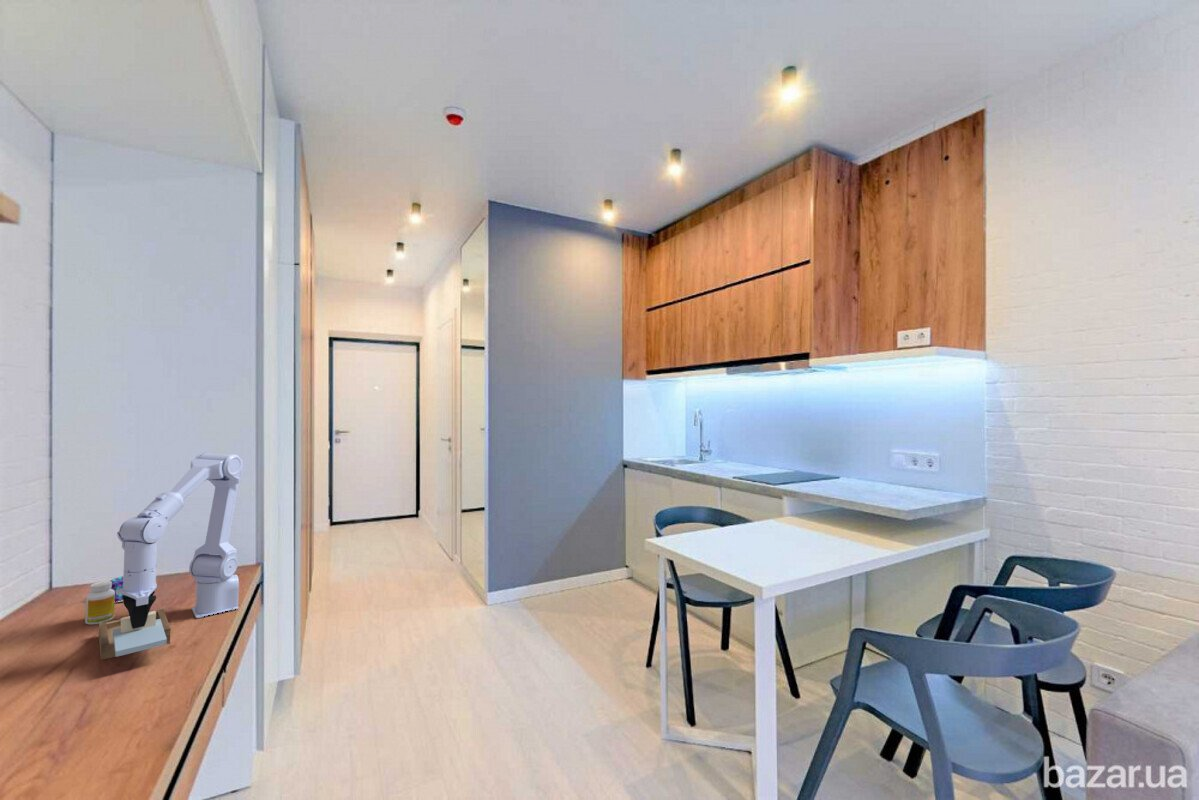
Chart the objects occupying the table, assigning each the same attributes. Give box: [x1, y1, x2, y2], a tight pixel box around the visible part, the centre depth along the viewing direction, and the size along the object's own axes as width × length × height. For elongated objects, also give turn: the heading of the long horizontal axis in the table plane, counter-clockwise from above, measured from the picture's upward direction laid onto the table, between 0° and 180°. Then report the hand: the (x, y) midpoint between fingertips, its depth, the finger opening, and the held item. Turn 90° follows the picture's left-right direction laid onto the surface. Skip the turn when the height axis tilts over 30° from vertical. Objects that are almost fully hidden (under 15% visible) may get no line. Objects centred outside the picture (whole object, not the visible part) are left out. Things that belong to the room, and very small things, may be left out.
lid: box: [113, 610, 168, 658], centre depth 116 cm, size 8×12×4 cm
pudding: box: [110, 576, 123, 604], centre depth 146 cm, size 12×12×5 cm
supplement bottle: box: [84, 580, 116, 626], centre depth 131 cm, size 5×5×10 cm
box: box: [98, 608, 172, 661], centre depth 123 cm, size 12×14×4 cm
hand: (138, 625), depth 118 cm, fingers closed on lid, 2 cm apart
